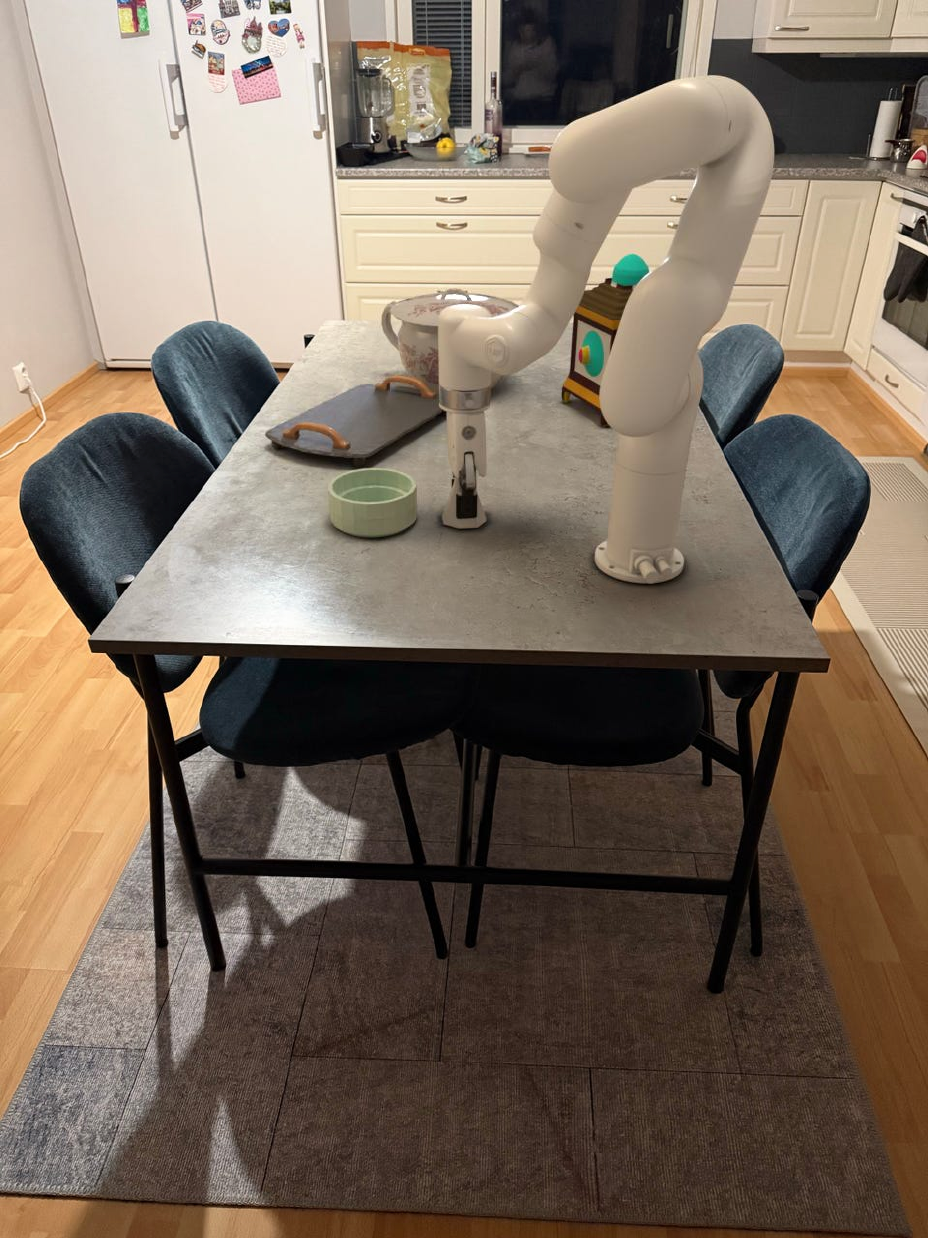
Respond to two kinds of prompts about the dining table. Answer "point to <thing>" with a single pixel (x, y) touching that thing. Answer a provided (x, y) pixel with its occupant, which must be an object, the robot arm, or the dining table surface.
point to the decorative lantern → (599, 330)
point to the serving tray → (359, 420)
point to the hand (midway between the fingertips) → (464, 508)
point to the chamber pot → (431, 329)
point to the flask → (450, 511)
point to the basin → (372, 502)
